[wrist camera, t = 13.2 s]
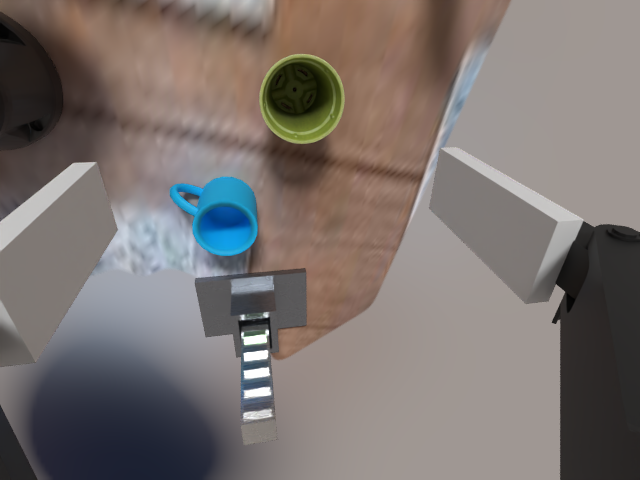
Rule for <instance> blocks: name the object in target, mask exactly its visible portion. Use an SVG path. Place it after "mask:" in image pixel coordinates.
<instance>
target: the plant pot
mask: <svg viewBox="0 0 640 480" xmlns="http://www.w3.org/2000/svg"><path fill="white" fill-rule="evenodd" d="M299 69H301V70H303V71H305V72H306V73H307V76H305V75H304V74H303V73H301V72H300V71H298V70H299ZM279 75H281V76H282V77H281V78H280V80H279V82H278V85H276V84H275V83H276V81H277V77H278V76H279ZM293 88H296V89H297V90H296V92H293ZM311 93H312V94H313V96H312V99H311V101H310V102H309V103H307V101H308V99H309V98H310V95H311ZM282 102H283V103H284V104H286V105H287V106H290V107H291V109H287V108H285V107H284V106H282V104H281V103H282ZM259 103H260V110H261V113H262V116H263V119H264V121H265V123H266V124H267V126H268V127H269V128H270V130H271V131H272V132H273V133H274V134H276V135H277V136H278V137H280V138H282V139H283V140H286V141H288V142H291V143H297V144H308V143H313V142H316V141H319V140H321V139H323V138H324V137H326V136H327V135H328V134H329V133H330V132H332V131H333V129H334V128H335V127H336V125H337V124H338V122H339V120H340V118H341V116H342V113H343V109H344V89H343V85H342V82H341V80H340V77H339V76H338V74H337V72H336V71H335V70H334V69H333V68H332V67H331V66H330V65H329V64H328V63H327V62H326V61H324V60H323V59H321V58H319V57H316V56H313V55H308V54H296V55H291V56H288V57H285V58H283V59H282V60H280V61H278V62H277V63H276V64H275V65H273V67H272V68H271V69H270V70H269V71H268V73H267V74H266V76H265V78H264V80H263V82H262V85H261V89H260V96H259Z"/></svg>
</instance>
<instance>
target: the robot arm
mask: <svg viewBox="0 0 640 480" xmlns="http://www.w3.org/2000/svg"><path fill="white" fill-rule="evenodd" d="M62 105H63V93H62V87H61V82H60V79H59V76H58V73H57V71H56V69H55V66H54V65H53V63H52V61H51V59H50V57H49V56H48V54H47V53H46V51H45V50H44V49H43V47H42V46H41V45H40V44H39V43H38V41H37V40H36V39H35V38H34V37H33V36H32V35H31V34H30V33H29V32H28V31H27V30H26V29H24V28H23V27H22V26H21V25H20V24H18V23H17V22H16V21H14V20H13V19H11V18H10V17H8V16H7V15H5V14H3V13H2V12H0V150H12V149H17V148H21V147H24V146H27V145H30V144H32V143H34V142H35V141H37V140H39V139H41V138H42V137H44V136H45V135H47V134H48V133H49V132H50V131H51V130H52V129H53V128H54V126H55V125H56V123H57V122H58V120H59V117H60V114H61V111H62ZM429 209H430V210H431V211H432V212H433V213H434V214H435V215H436V216H437V217H438V218H439V219H440V220H441V221H442V222H443V223H444V224H445V225H446V226H447V227H448V228H449V229H450V230H452V232H454V234H455V235H456V236H458V238H459V239H461V240H462V241H463V242H464V243H465V244H466V245H467V246H468V247H469V248H470V249H471V250H472V251H473V252H474V253H475V254H476V255H477V256H478V257H479V258H480V259H481V260H482V261H483V262H484V263H485V264H486V265H487V266H488V267H489V268H490V269H491V270H492V271H493V272H494V273H495V274H496V275H497V276H498V277H499V278H500V279H501V280H502V281H503V282H504V283H505V284H506V285H507V286H508V287H509V288H510V289H511V290H512V291H513V292H514V293H515V294H516V295H517V296H518V297H519V298H520V299H521V300H522V301H524V303H525V304H529V303H538V302H546V301H549V298H550V296H551V294H552V292H553V290H554V287H555V285H556V284H557V285H558V286H559V287H560V288H562V289H563V290H564V291H565V294H564V296H563V299H562V301H561V303H560V305H559V308H558V310H557V312H556V314H555V317H554V318H553V321H552V323H554V324H556V323H557V321H558V320H560V324H561V328H560V329H561V330H560V341H561V342H560V352H561V353H560V366H561V367H560V369H561V370H560V375H561V376H560V382H561V383H560V384H561V385H560V386H561V387H560V480H640V232H638V231H636V230H634V229H632V228H629V227H625V226H617V225H610V224H607V225H599V226H596V227H593V226H591V225H589V224H588V223H586V222H584V221H583V219H582V218H580V217H578V216H576V215H575V214H573V213H571V212H570V211H568V210H566V209H564V208H563V207H561V206H559V205H557V204H556V203H554V202H552V201H550V200H548V199H547V198H545V197H543V196H541V195H540V194H538V193H536V192H534V191H533V190H531V189H529V188H527V187H526V186H524V185H522V184H520V183H519V182H517V181H515V180H513V179H512V178H510V177H508V176H506V175H505V174H503V173H501V172H499V171H498V170H496V169H494V168H492V167H490V166H489V165H487V164H485V163H484V162H482V161H480V160H478V159H476V158H475V157H473V156H471V155H469V154H468V153H466V152H464V151H462V150H461V149H459V148H457V147H456V148H455V147H454V148H440V151H439V157H438V162H437V168H436V173H435V178H434V184H433V189H432V195H431V200H430V206H429ZM117 230H118V229H117V225H116V222H115V219H114V216H113V212H112V209H111V206H110V203H109V199H108V196H107V193H106V190H105V187H104V183H103V180H102V177H101V174H100V170H99V167H98V164H97V162H85V163H73V164H71V165H70V166H69V167H68V168H66V169H65V170H64V171H63V172H62V173H60V174H59V175H58V176H57V177H55V178H54V179H53V180H52V181H50V182H49V183H48V184H47V185H45V186H44V187H43V188H42V189H40V190H39V191H38V192H37V193H35V194H34V195H33V196H32V197H30V198H29V199H28V200H27V201H25V202H24V203H23V204H22V205H20V206H19V207H18V208H17V209H15V210H14V211H13V212H12V213H11V214H9V215H8V216H7V217H6V218H4V219H3V220H2V221H1V222H0V367H4V366H13V365H21V364H29V363H36V361H37V360H38V358H39V356H40V355H41V353H42V352H43V350H44V348H45V347H46V345H47V344H48V342H49V340H50V339H51V337H52V336H53V334H54V332H55V331H56V329H57V328H58V326H59V324H60V323H61V321H62V319H63V318H64V316H65V315H66V313H67V311H68V309H69V308H70V306H71V305H72V303H73V302H74V300H75V298H76V297H77V295H78V294H79V292H80V290H81V289H82V287H83V285H84V284H85V282H86V281H87V279H88V277H89V276H90V274H91V273H92V271H93V269H94V268H95V266H96V264H97V263H98V261H99V260H100V258H101V256H102V255H103V253H104V251H105V250H106V248H107V247H108V245H109V243H110V242H111V240H112V239H113V237H114V235H115V234H116V232H117ZM0 480H37V477H36V475H35V473H34V471H33V469H32V468H31V466H30V464H29V461H28V459H27V458H26V456H25V454H24V452H23V449H22V448H21V446H20V444H19V442H18V440H17V438H16V436H15V434H14V432H13V430H12V428H11V426H10V424H9V422H8V420H7V418H6V416H5V414H4V412H3V410H2V408H1V406H0Z"/></svg>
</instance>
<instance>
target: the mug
mask: <svg viewBox="0 0 640 480" xmlns="http://www.w3.org/2000/svg"><path fill="white" fill-rule="evenodd" d="M178 192H186V193H191V194H194V195H197V196H200V197H199V201H198V205H197V207H195V206H193V205H192V204H190V203H189V202H187V201H186V200H185V199H184V198H182V197H181V196H180V194H179V193H178ZM170 197H171V198H172V200H173V201H174V203H175V204H177V205H178V206H179V207H180V208H181V209H183V210H184V211H186V212H187V213H189V214H191V215H193V216H194V220H193V224H192V227H193V234H194V237H195V239H196V241H197V242H198V243H199V244H200V245H201V247H202V248H203V249H205V250H207V251H209V252H210V253H213V254H217V255H220V256H232V255H236V254H239V253H242V252H243V251H245V250H247V249H248V248H249V247H250V246H251V245H252V244H253V243H254V241H255V238H256V236H257V230H258V224H257V208H256V198H255V195H254V192H253V191H252V190H251V188H250V187H249V186H248V185H247V184H246V183H244V182H243V181H242V180H239V179H236V178H233V177H220V178H216V179H213V180H212V181H210V182H209V183H207V184H206V185H205V187H204V188H203V189H202V188H199V187H196V186H193V185H189V184H175V185H174V186H172V187H171V188H170Z"/></svg>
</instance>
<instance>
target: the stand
mask: <svg viewBox="0 0 640 480" xmlns="http://www.w3.org/2000/svg"><path fill="white" fill-rule="evenodd" d="M195 287H196V292H197V296H198V301H199V306H200V311H201V316H202V321H203V326H204V331H205V336H206V337H211V336H220V335H227V334H233V337H234V345H235V351H236V357H241V327H245V326H254V325H263V324H268V331H269V344H270V353H276V352H279V346H278V330H277V329H279V328H288V327H296V326H305V325H306V270H305V268H303V269H292V270H281V271H270V272H259V273H249V274H238V275H227V276H216V277H205V278H196V279H195Z"/></svg>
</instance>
